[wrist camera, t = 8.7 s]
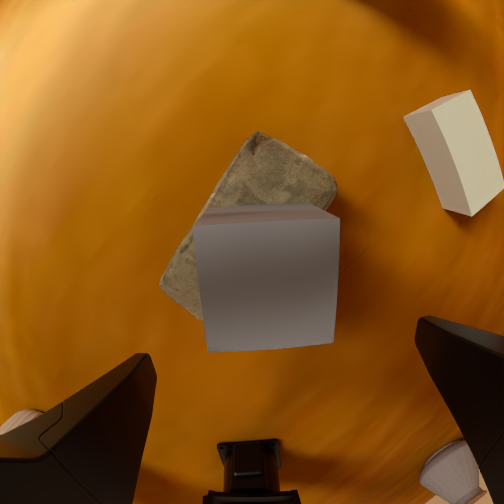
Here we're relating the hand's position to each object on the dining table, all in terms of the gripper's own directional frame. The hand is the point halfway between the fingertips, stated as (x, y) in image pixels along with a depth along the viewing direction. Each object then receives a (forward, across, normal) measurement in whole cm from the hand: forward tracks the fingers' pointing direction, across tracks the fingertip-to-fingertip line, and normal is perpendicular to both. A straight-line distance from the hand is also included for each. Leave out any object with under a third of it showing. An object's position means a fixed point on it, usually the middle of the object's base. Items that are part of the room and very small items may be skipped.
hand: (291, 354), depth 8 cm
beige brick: (+12, -15, -7) cm, 21 cm away
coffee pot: (+12, -26, +44) cm, 53 cm away
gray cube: (+7, 0, -1) cm, 7 cm away
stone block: (+12, +1, -2) cm, 12 cm away
